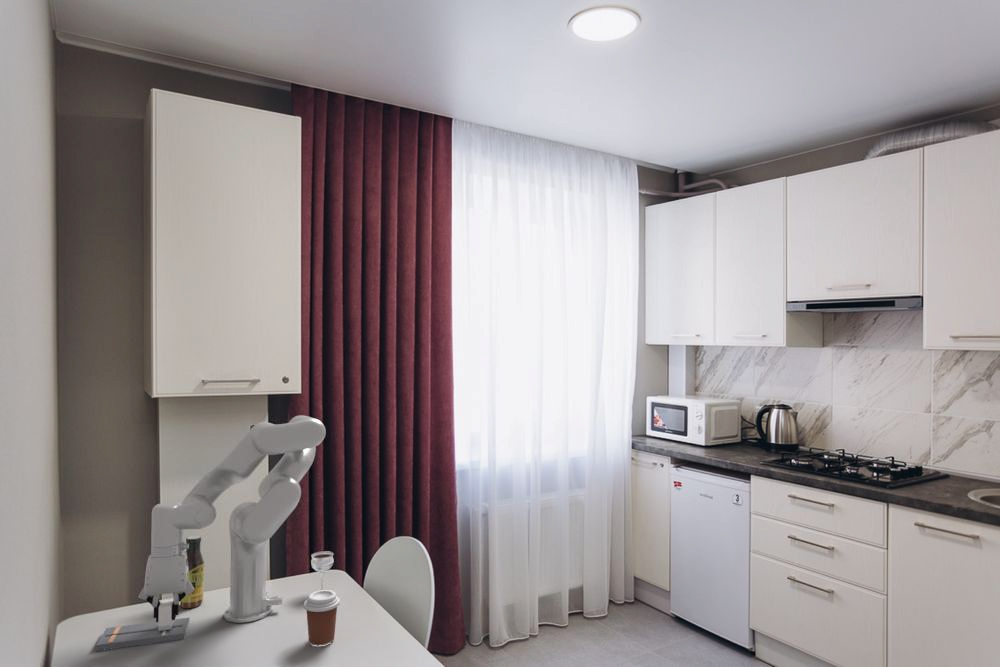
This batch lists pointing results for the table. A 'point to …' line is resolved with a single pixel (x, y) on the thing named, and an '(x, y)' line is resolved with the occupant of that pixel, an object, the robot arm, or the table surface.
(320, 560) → the wineglass
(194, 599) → the sauce bottle
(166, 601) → the fader
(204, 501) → the robot arm
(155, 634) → the grey slider base
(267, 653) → the table surface
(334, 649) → the table surface
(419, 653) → the table surface
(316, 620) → the coffee cup
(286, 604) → the table surface
